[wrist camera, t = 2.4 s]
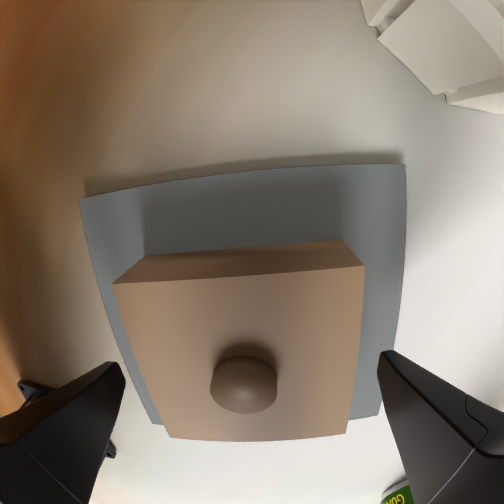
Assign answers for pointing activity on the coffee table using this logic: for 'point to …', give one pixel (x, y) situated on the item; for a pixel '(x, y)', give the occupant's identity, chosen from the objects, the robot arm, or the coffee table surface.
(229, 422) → the lid
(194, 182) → the mat
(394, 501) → the beer can
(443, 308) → the coffee table surface
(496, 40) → the bowl
